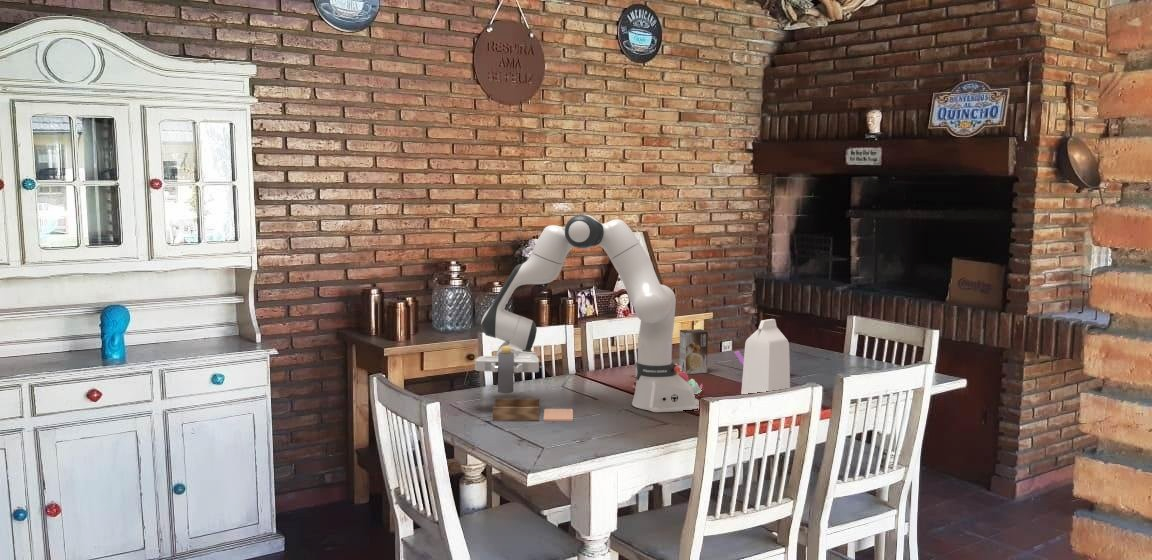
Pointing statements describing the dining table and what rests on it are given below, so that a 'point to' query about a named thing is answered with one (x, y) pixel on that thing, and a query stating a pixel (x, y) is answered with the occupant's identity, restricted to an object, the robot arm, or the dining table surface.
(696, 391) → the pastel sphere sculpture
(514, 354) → the robot arm
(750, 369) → the milk
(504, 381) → the grey tall block
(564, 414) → the terracotta tile
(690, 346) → the coffee box
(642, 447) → the dining table surface
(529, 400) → the guide channel
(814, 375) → the dining table surface
